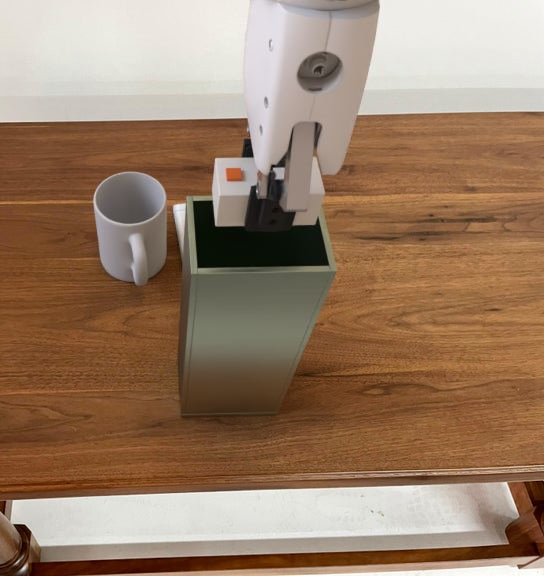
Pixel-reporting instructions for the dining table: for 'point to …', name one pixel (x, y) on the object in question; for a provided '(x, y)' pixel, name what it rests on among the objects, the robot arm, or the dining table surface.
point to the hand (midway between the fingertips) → (263, 203)
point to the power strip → (237, 183)
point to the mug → (131, 226)
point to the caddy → (246, 311)
